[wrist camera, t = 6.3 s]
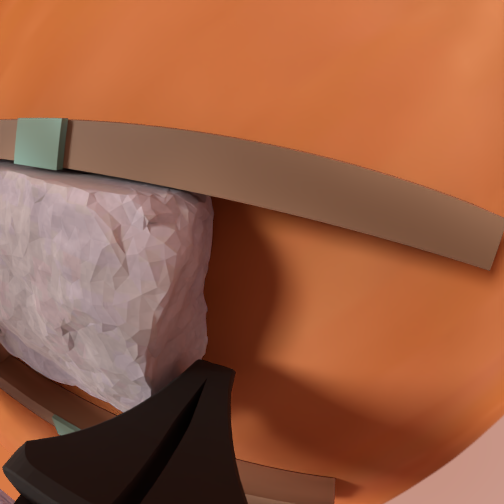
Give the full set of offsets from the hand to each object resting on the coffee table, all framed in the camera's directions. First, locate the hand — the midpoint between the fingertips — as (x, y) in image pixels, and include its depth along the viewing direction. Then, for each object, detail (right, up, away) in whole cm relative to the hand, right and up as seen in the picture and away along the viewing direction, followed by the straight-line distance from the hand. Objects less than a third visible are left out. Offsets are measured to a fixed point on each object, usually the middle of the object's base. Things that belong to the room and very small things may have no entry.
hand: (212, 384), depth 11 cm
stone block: (-6, +4, +2) cm, 7 cm away
